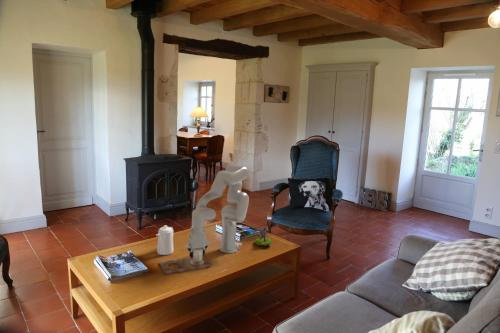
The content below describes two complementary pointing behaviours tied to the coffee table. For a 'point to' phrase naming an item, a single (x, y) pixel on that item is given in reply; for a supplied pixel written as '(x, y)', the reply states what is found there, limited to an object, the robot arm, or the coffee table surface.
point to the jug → (197, 255)
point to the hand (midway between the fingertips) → (197, 256)
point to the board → (183, 265)
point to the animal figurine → (263, 238)
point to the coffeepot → (165, 240)
